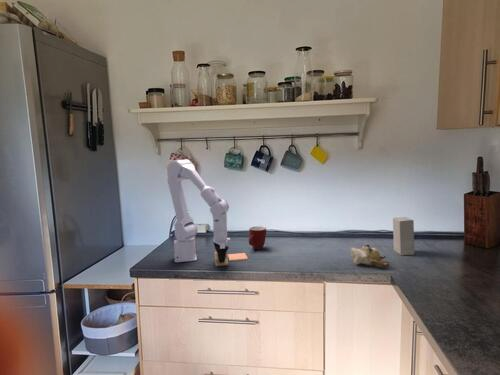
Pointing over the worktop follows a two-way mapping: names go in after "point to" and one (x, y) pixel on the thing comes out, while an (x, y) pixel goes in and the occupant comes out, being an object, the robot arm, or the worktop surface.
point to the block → (218, 260)
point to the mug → (257, 237)
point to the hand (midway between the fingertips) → (221, 260)
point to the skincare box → (403, 235)
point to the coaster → (237, 257)
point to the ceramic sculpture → (367, 256)
